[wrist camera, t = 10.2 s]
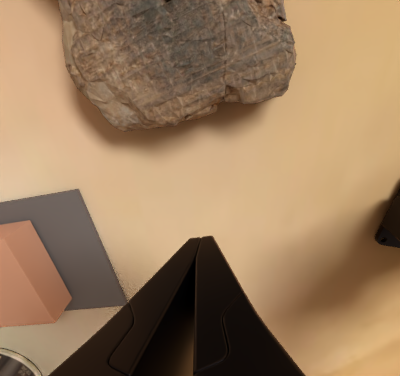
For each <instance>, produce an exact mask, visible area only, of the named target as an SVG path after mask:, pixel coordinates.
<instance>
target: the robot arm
mask: <svg viewBox="0 0 400 376" xmlns="http://www.w3.org/2000/svg"><path fill="white" fill-rule="evenodd" d="M383 237H384V238H383ZM382 238H383V239H382ZM381 239H382V240H381ZM375 240H376V241H377V242H378V243H379V244H381V245H386V246H392V247H398V248H400V189H399V191H398V193H397V195H396V197H395V199H394V201H393V203H392V205H391V207H390V209H389V211H388V212H387V214H386V216H385V218H384V220H383V222H382V224H381V226H380V228H379V230H378V232H377V234H376V236H375ZM48 376H305V374H304V373H303V372H302V371H301V370H300V368H299V367H298V366H297V365H296V363H295V362H294V361H293V359H292V358H291V357H290V356H289V354H288V353H287V352H286V351H285V349H284V348H283V347H282V346H281V344H280V343H279V342H278V340H277V339H276V338H275V337H274V335H273V334H272V333H271V332H270V330H269V329H268V328H267V326H266V325H265V323H264V322H263V321H262V319H261V318H260V317H259V315H258V314H257V312H256V311H255V309H254V307H253V306H252V304H251V303H250V301H249V299H248V297H247V296H246V294H245V293H244V291H243V289H242V287H241V285H240V283H239V282H238V280H237V278H236V276H235V275H234V273H233V271H232V269H231V267H230V266H229V264H228V262H227V260H226V259H225V257H224V255H223V253H222V252H221V250H220V248H219V246H218V244H217V243H216V241H215V239H214V237H213V236H205V237H202V238H200V237H198V238H190V239H189V240H188V241H187V242H186V243H185V244H184V245H183V246H182V247H181V248H180V249H179V250H178V251H177V252H176V253H175V254H174V255H173V256H172V257H171V258H170V259H169V260H168V261H167V262H166V263H165V264H164V265H163V267H162V268H161V269H160V270H159V271H158V272H157V273H156V274H155V275H154V276H153V277H152V278H151V279H150V280H149V281H148V282H147V283H146V284H145V285H144V286H143V287H142V288H141V289H140V290H139V291H138V292H137V293H136V294H135V295H134V296H133V297H132V298H131V299H130V300H129V303H126V304H125V305H124V306H123V307H122V308H121V310H120V311H119V312H118V313H117V314H116V315H115V316H113V317H112V318H111V319H110V320H109V321H108V322H107V323H106V324H105V325H104V326H103V327H102V328H101V329H100V330H99V331H98V332H97V333H96V334H94V335H93V336H92V337H91V338H90V339H89V340H88V341H87V342H86V343H85V344H83V345H82V346H81V347H80V348H79V349H78V350H77V351H75V352H74V353H73V354H72V355H71V356H70V357H69V358H68V359H66V360H65V361H64V362H63V363H62V364H61V365H60V366H59V367H57V368H56V369H55V370H54V371H53V372H52V373H51V374H50V375H48Z"/></svg>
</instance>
